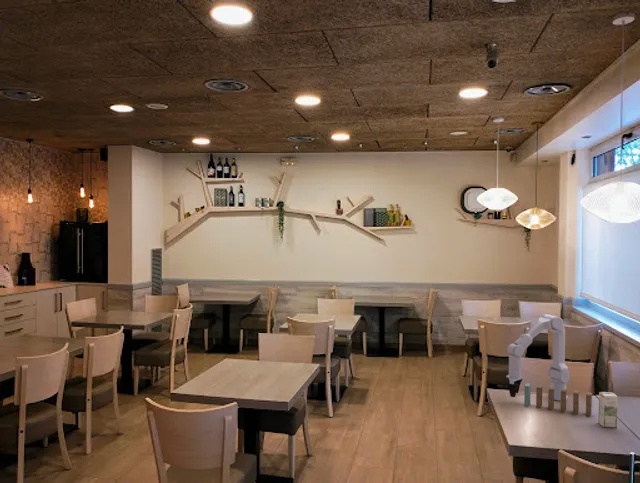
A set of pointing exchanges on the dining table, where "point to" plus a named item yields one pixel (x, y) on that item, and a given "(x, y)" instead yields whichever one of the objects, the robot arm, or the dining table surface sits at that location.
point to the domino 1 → (527, 394)
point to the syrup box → (608, 409)
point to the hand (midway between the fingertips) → (514, 394)
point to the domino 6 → (588, 404)
